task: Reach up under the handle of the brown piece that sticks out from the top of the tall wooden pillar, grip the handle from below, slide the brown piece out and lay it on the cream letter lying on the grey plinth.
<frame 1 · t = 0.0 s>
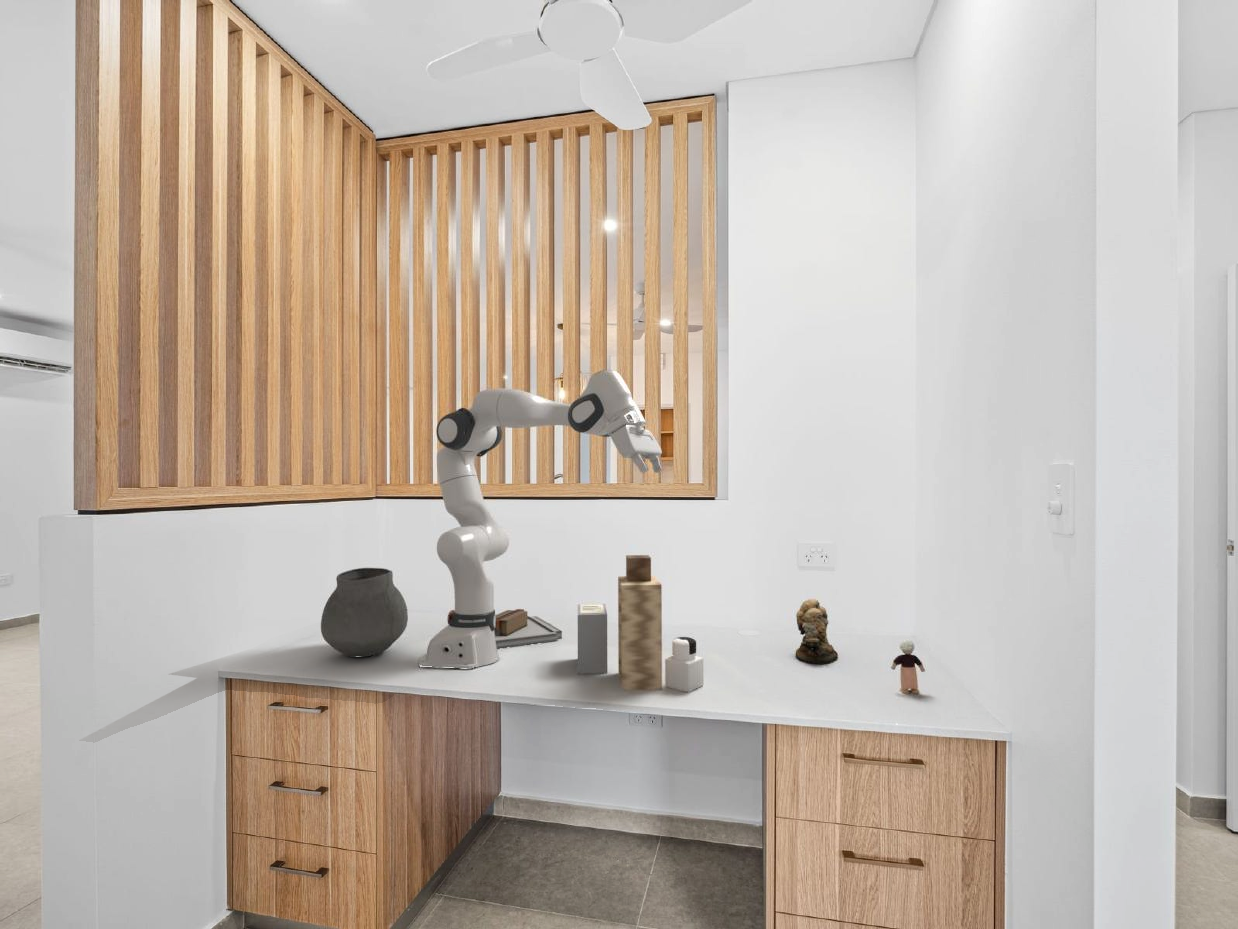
hand: (652, 471, 160), 54 cm above the table, tool tilted 30°, fingers open, 8 cm apart
owl figurine: (816, 657, 185), on the table
plinth: (592, 665, 177), on the table
tall wooden pillar: (639, 680, 164), on the table
grey tray: (506, 638, 212), on the table
brown piece: (637, 577, 169), point 26 cm above the table, touching tall wooden pillar
ceramic pot: (364, 654, 190), on the table
grandmother figurine: (907, 692, 155), on the table
medicine bottle: (684, 687, 160), on the table
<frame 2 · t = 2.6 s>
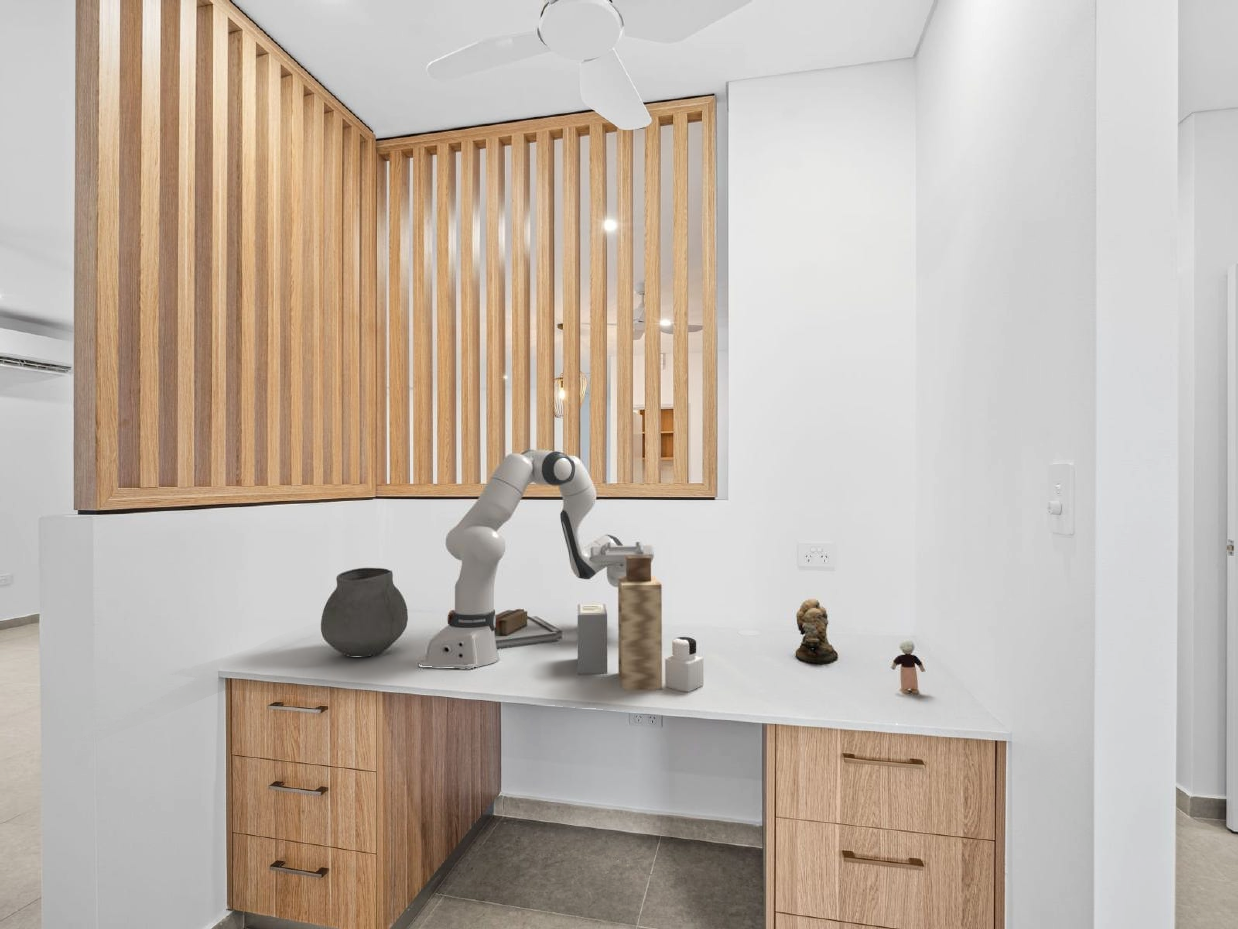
hand: (623, 544, 195), 32 cm above the table, tool pointing upward, fingers open, 8 cm apart
nothing on the table moved.
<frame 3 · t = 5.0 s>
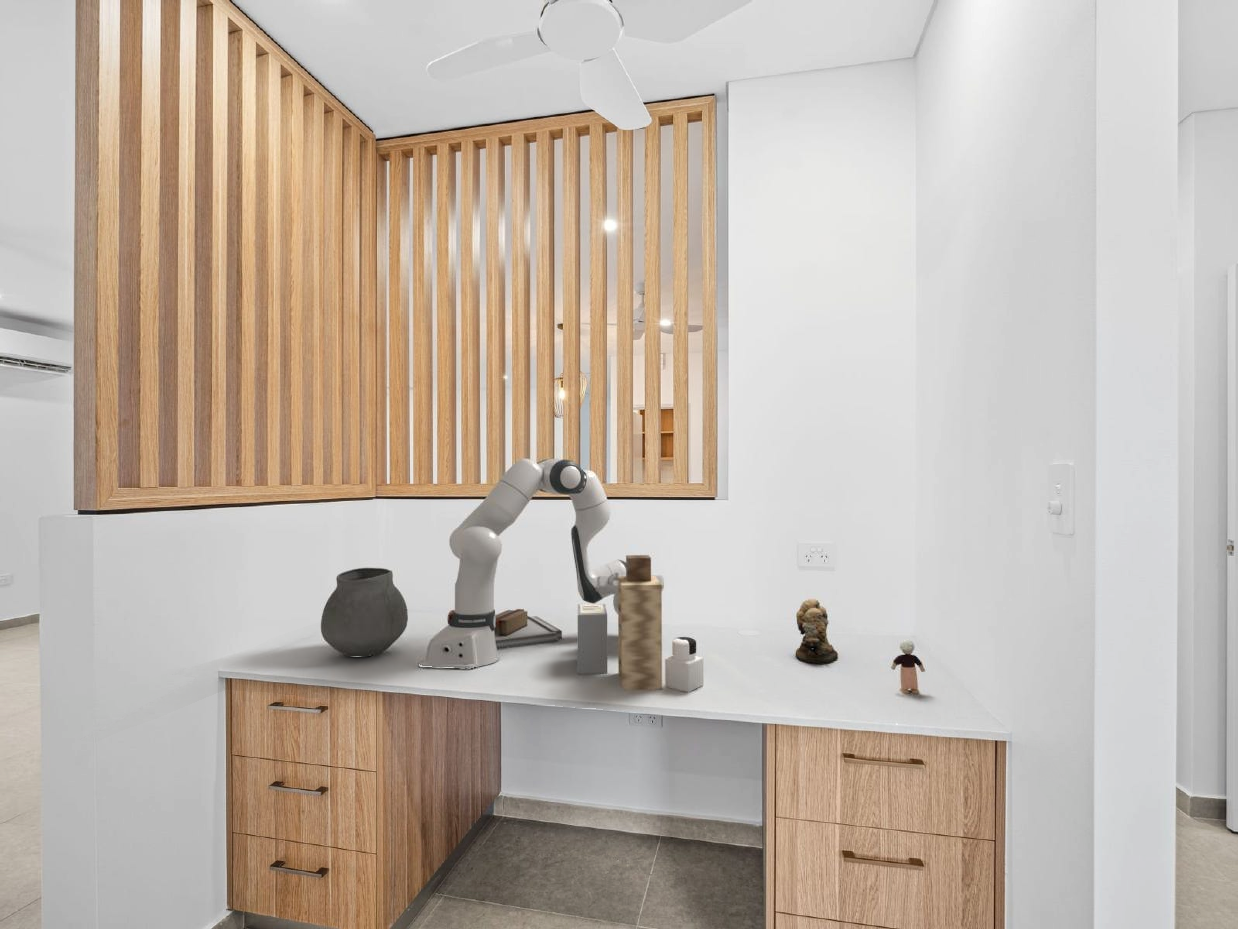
hand: (632, 574, 185), 24 cm above the table, tool pointing upward, fingers open, 8 cm apart
nothing on the table moved.
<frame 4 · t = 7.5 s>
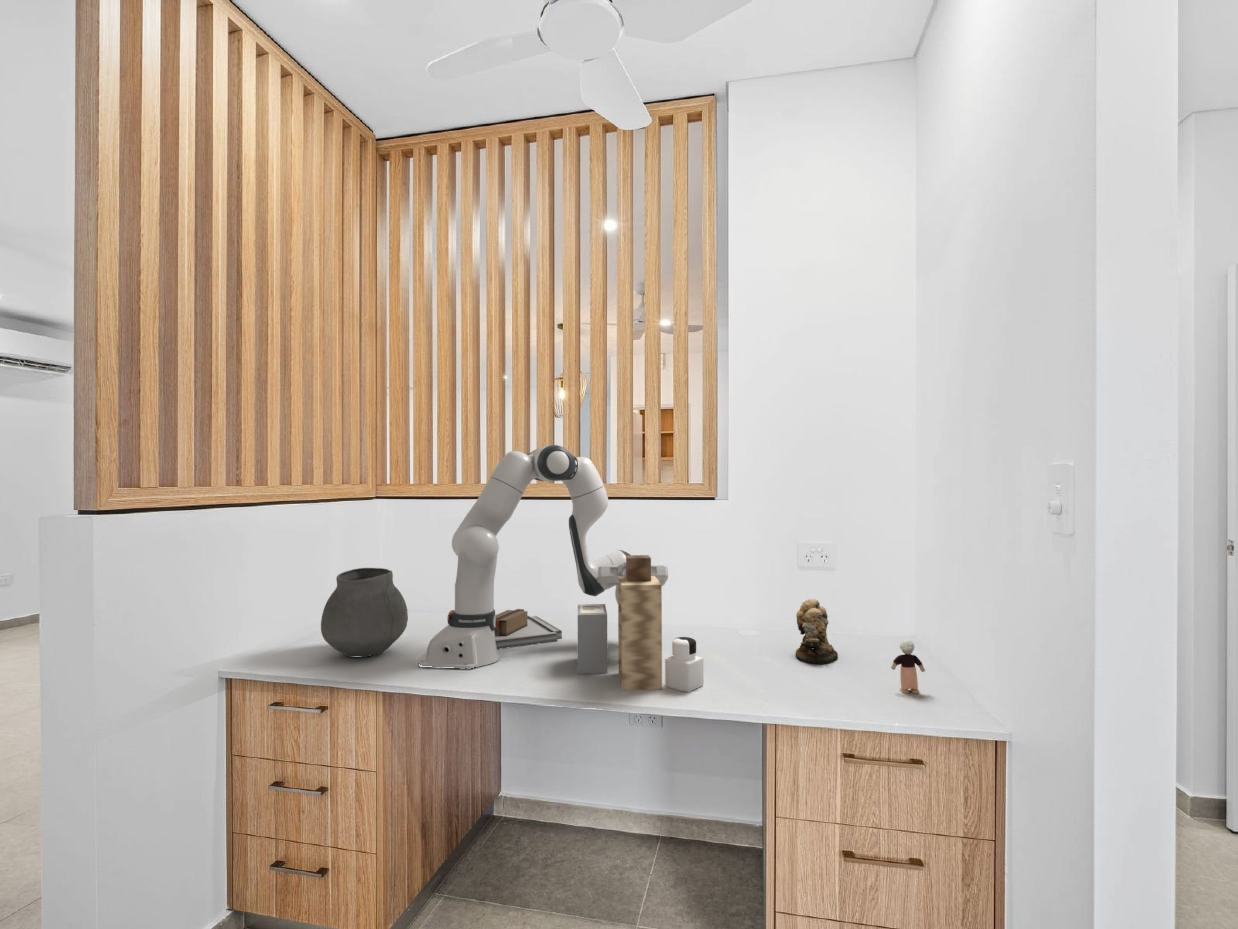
hand: (634, 564, 177), 28 cm above the table, tool pointing upward, fingers closed on brown piece, 4 cm apart
brown piece: (637, 577, 169), point 26 cm above the table, touching gripper, tall wooden pillar
everything else where it was.
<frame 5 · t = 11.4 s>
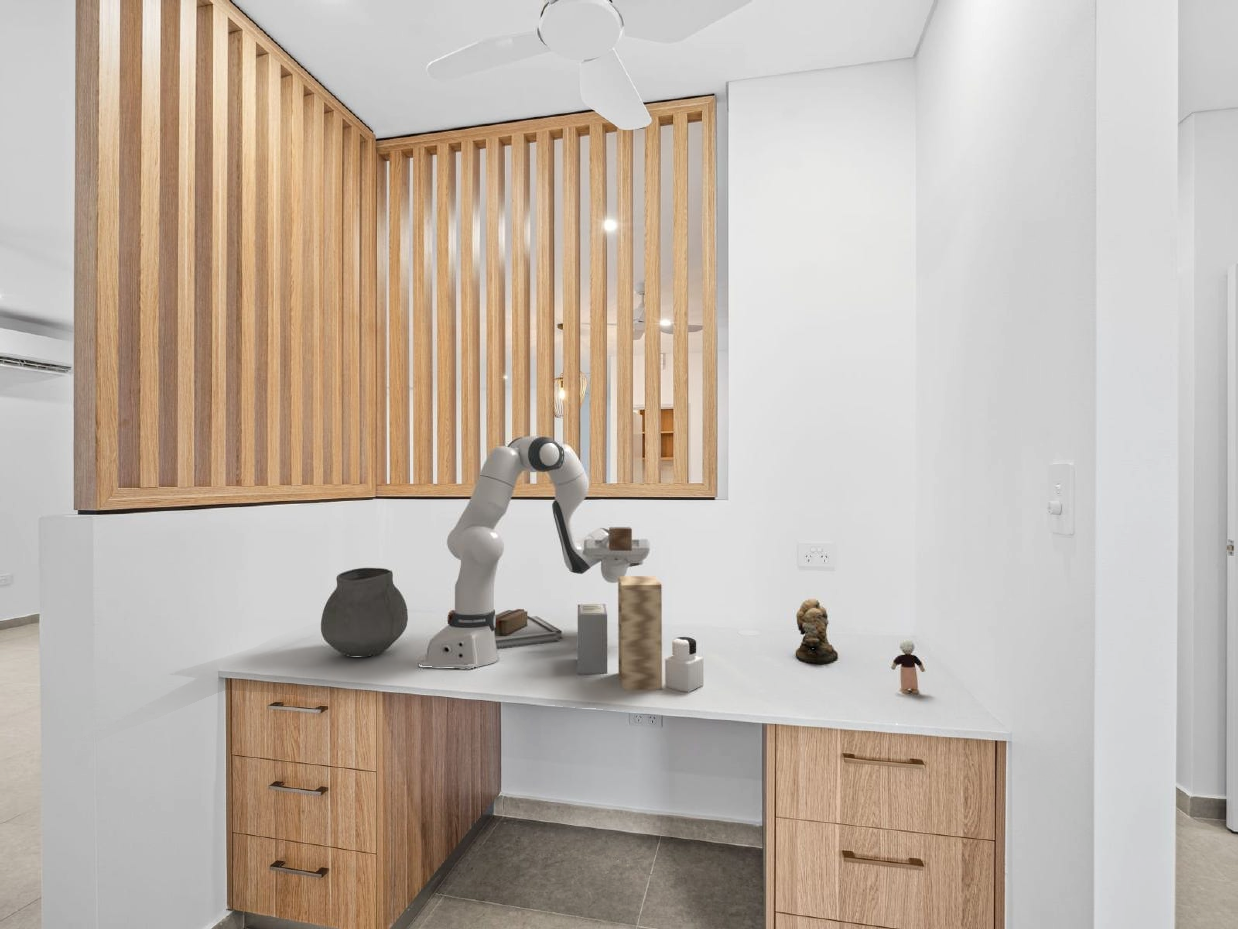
hand: (617, 537, 188), 35 cm above the table, tool pointing upward, fingers closed on brown piece, 4 cm apart
brown piece: (619, 548, 181), point 33 cm above the table, touching gripper
everything else where it was.
when the fingers open (20 cm above the table, at t = 15.5 s): brown piece drops 1 cm, resting on plinth.
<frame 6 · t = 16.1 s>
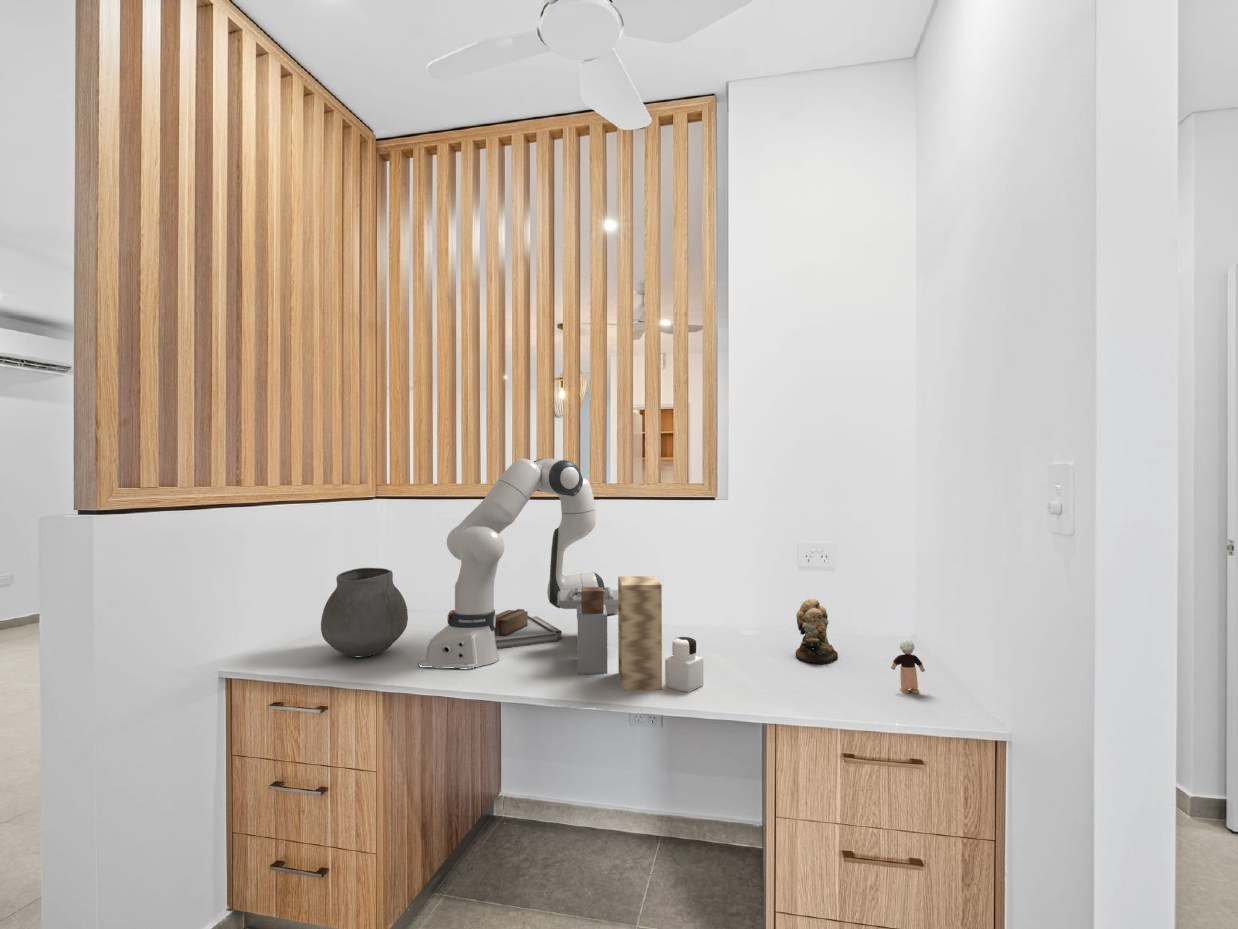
hand: (591, 589, 185), 20 cm above the table, tool pointing upward, fingers open, 8 cm apart
brown piece: (592, 608, 177), point 16 cm above the table, touching plinth
everything else where it was.
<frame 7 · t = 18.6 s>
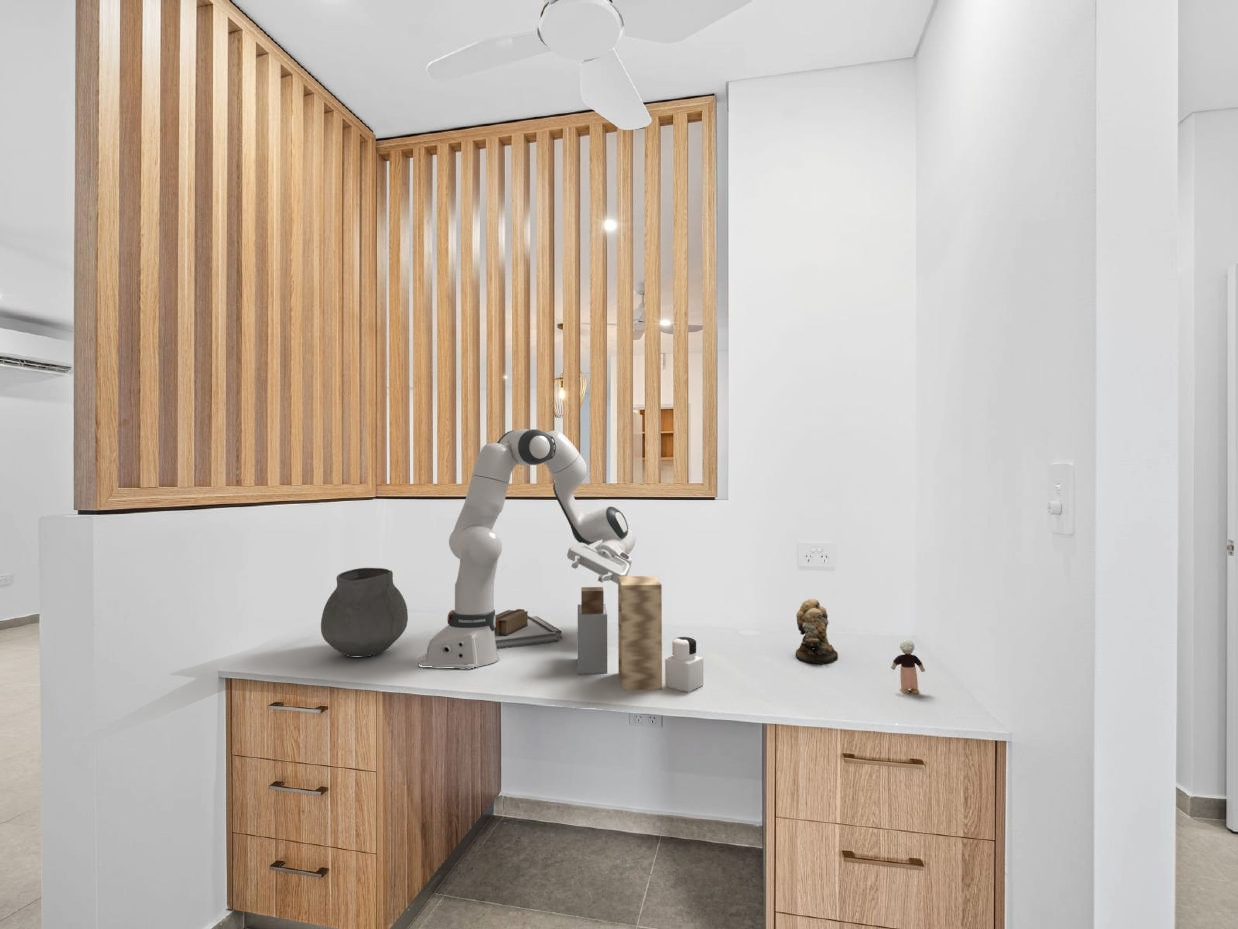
hand: (586, 572, 192), 24 cm above the table, tool tilted 75°, fingers open, 8 cm apart
nothing on the table moved.
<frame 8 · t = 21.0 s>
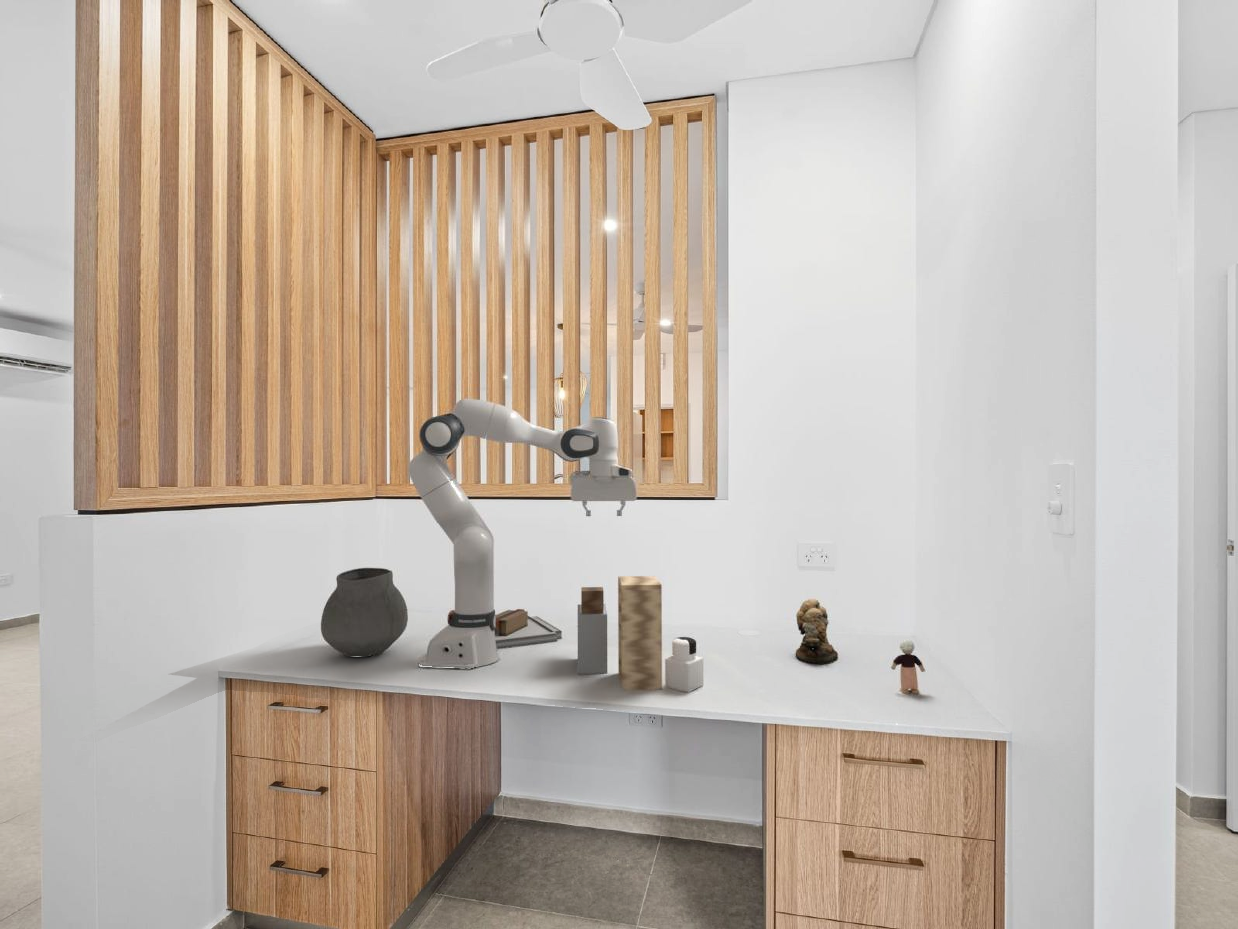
hand: (603, 516, 192), 41 cm above the table, tool pointing down, fingers open, 8 cm apart
nothing on the table moved.
at the end: brown piece inside the target area on the plinth (0.4 cm from its centre), point 16.1 cm above the plinth's base; brown piece touching plinth; the gripper is holding nothing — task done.
